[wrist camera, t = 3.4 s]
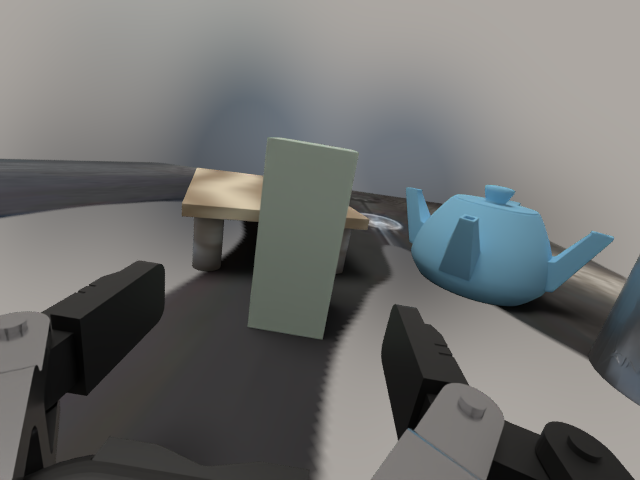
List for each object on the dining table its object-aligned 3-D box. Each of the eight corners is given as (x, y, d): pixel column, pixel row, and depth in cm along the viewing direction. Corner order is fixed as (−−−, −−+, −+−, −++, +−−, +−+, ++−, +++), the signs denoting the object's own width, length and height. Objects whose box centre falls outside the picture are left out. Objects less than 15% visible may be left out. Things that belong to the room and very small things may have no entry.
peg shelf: (305, 220, 49) (311, 181, 47) (356, 277, 31) (369, 219, 29) (195, 211, 44) (197, 167, 42) (180, 274, 26) (182, 203, 24)
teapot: (588, 327, 29) (644, 216, 26) (436, 309, 28) (474, 187, 24) (492, 263, 44) (520, 186, 40) (388, 248, 42) (409, 167, 39)
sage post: (325, 302, 25) (353, 150, 22) (322, 339, 21) (358, 153, 17) (264, 291, 25) (282, 137, 22) (247, 327, 21) (267, 137, 17)
